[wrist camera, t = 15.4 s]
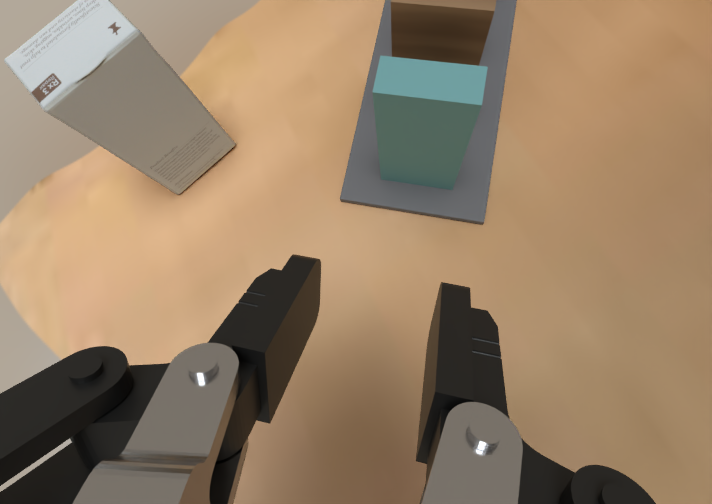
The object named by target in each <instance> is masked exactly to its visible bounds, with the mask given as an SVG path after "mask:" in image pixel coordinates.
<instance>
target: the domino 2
mask: <svg viewBox="0 0 712 504" xmlns="http://www.w3.org/2000/svg"><path fill="white" fill-rule="evenodd" d="M487 68H488V67H485V66H476V65H466V64H457V63H447V62H438V61H428V60H418V59H409V58H399V57H390V56H380V60H379V65H378V69H377V74H376V78H375V83H374V87H373V92H372V93H373V103H374V113H375V123H376V133H377V143H378V153H379V163H380V173H381V180H388V181H395V182H401V183H408V184H415V185H421V186H428V187H435V188H442V189H448V190H453V187H454V184H455V181H456V178H457V175H458V172H459V170H460V167H461V164H462V161H463V158H464V155H465V152H466V149H467V147H468V144H469V141H470V138H471V135H472V132H473V129H474V126H475V124H476V121H477V118H478V115H479V112H480V109H481V106H482V101H483V95H484V88H485V82H486V75H487Z"/></svg>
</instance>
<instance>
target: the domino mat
mask: <svg viewBox="0 0 712 504" xmlns="http://www.w3.org/2000/svg"><path fill="white" fill-rule="evenodd" d="M516 1H517V0H496V6H495V11H494V15H493V18H492V22H491V25H490V29H489V32H488V36H487V39H486V43H485V46H484V50H483V53H482V57H481V60H480V64H479V66H485V67H488V68H487V75H486V82H485V88H484V95H483V101H482V106H481V109H480V112H479V115H478V118H477V121H476V124H475V126H474V129H473V132H472V135H471V138H470V141H469V144H468V147H467V149H466V152H465V155H464V158H463V161H462V164H461V167H460V170H459V172H458V175H457V178H456V181H455V184H454V187H453V190H448V189H442V188H435V187H428V186H421V185H415V184H408V183H401V182H395V181H388V180H381V173H380V163H379V153H378V143H377V133H376V123H375V113H374V103H373V93H372V92H373V87H374V83H375V78H376V74H377V69H378V65H379V60H380V56H390V57H392V40H391V0H385V4H384V8H383V13H382V17H381V22H380V26H379V30H378V35H377V39H376V43H375V48H374V52H373V57H372V61H371V65H370V70H369V74H368V78H367V83H366V87H365V91H364V96H363V100H362V105H361V109H360V113H359V118H358V122H357V126H356V131H355V135H354V140H353V144H352V148H351V153H350V157H349V161H348V166H347V170H346V175H345V179H344V183H343V188H342V192H341V196H340V200H341V201H342V202H348V203H354V204H360V205H366V206H372V207H379V208H385V209H391V210H397V211H403V212H409V213H415V214H421V215H427V216H433V217H440V218H446V219H452V220H458V221H464V222H470V223H476V224H482V225H483V223H484V219H485V213H486V206H487V199H488V192H489V185H490V178H491V172H492V165H493V158H494V151H495V144H496V138H497V131H498V124H499V117H500V110H501V103H502V97H503V90H504V83H505V76H506V69H507V63H508V56H509V49H510V42H511V35H512V29H513V22H514V15H515V8H516Z"/></svg>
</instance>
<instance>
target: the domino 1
mask: <svg viewBox="0 0 712 504" xmlns="http://www.w3.org/2000/svg"><path fill="white" fill-rule="evenodd" d="M495 6H496V0H391V40H392V57H399V58H409V59H418V60H428V61H438V62H447V63H457V64H466V65H476V66H479V64H480V60H481V57H482V53H483V50H484V46H485V43H486V39H487V36H488V32H489V29H490V25H491V22H492V18H493V15H494V11H495Z"/></svg>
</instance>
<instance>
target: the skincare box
mask: <svg viewBox="0 0 712 504" xmlns="http://www.w3.org/2000/svg"><path fill="white" fill-rule="evenodd" d="M4 61H5V63H6V64H7V66H8V67H9V68H10V69H11V70H12V72H13V73H14V74H15V75H16V76H17V78H18V79H19V80H20V81H21V82H22V84H23V85H24V86H25V87H26V89H27V90H28V91H29V92H30V94H31V95H32V96H33V98H34V99H35V100H36V101H37V102H38V104H39V105H40V106H41V108H42V109H43V110H44V111H45V112H46V113H48V114H50V115H51V116H53V117H55V118H56V119H58V120H60V121H61V122H63V123H65V124H66V125H68V126H70V127H71V128H73V129H74V130H76V131H78V132H79V133H81V134H82V135H84V136H85V137H87V138H89V139H90V140H92V141H93V142H95V143H97V144H98V145H100V146H101V147H103V148H104V149H106V150H108V151H109V152H111V153H112V154H114V155H115V156H117V157H119V158H120V159H122V160H123V161H125V162H126V163H128V164H130V165H131V166H133V167H134V168H136V169H138V170H139V171H141V172H142V173H144V174H145V175H147V176H149V177H150V178H152V179H153V180H155V181H157V182H158V183H160V184H161V185H163V186H164V187H166V188H168V189H169V190H171V191H172V192H174V193H175V194H181V193H182V192H183V191H184V190H185V189H186V188H187V187H188V186H190V185H191V184H192V183H193V182H194V181H195V180H196V179H198V178H199V177H200V176H201V175H202V174H203V173H204V172H206V171H207V170H208V169H209V168H210V167H211V166H212V165H214V164H215V163H216V162H217V161H218V160H219V159H220V158H222V157H223V156H224V155H225V154H226V153H227V152H228V151H230V150H231V149H232V148H233V147H234V146H235V145H236V144H235V142H234V141H233V140H232V139H231V138H230V136H229V135H228V134H227V133H226V132H225V131H224V129H223V128H222V127H221V126H220V125H219V123H218V122H217V121H216V120H215V119H214V117H213V116H212V115H211V114H210V113H209V112H208V110H207V109H206V108H205V107H204V106H203V104H202V103H201V102H200V101H199V100H198V98H197V97H196V96H195V95H194V94H193V92H192V91H191V90H190V89H189V88H188V86H187V85H186V84H185V83H184V82H183V81H182V79H181V78H180V77H179V76H178V75H177V74H176V72H175V71H174V70H173V69H172V68H171V67H170V65H169V64H168V63H167V62H166V61H165V60H164V59H163V58H162V57H161V56H160V55H159V54H158V53H157V51H156V50H155V49H154V48H153V46H152V45H151V44H150V43H149V41H148V40H147V39H146V37H145V36H144V35H143V34H142V32H140V30H139V29H137V28H136V27H135V26H134V25H133V24H132V23H131V22H130V21H129V20H128V19H127V18H126V17H125V16H124V15H123V14H122V13H121V12H120V11H119V10H118V9H117V8H116V7H115V6H114V5H113V4H112V3H111V2H110V0H77V1H76V2H75V3H73V4H72V5H71V6H70V7H69V8H67V9H66V10H65V11H64V12H62V13H61V14H60V15H59V16H58V17H56V18H55V19H54V20H53V21H52V22H50V23H49V24H48V25H46V26H45V27H44V28H43V29H41V30H40V31H39V32H38V33H37V34H35V35H34V36H33V37H32V38H30V39H29V40H28V41H27V42H25V43H24V44H23V45H22V46H21V47H19V48H18V49H17V50H16V51H15V52H13V53H12V54H11V55H9V56H8V57H7V58H5V60H4Z"/></svg>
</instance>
